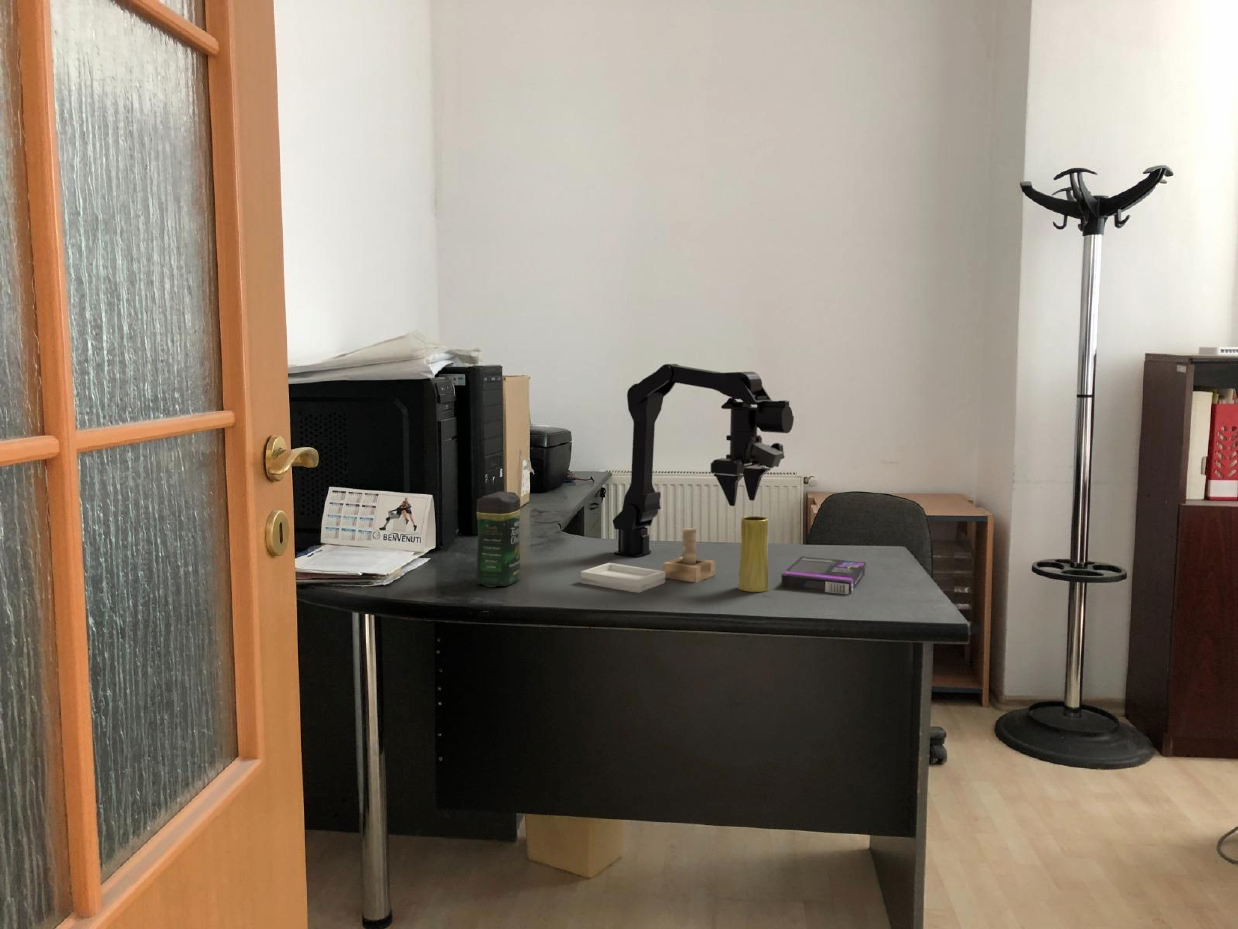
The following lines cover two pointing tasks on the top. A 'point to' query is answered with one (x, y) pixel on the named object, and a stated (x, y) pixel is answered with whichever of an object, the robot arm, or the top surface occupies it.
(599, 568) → the tray
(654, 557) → the top surface
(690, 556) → the dowel
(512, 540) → the coffee jar
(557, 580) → the top surface
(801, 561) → the box
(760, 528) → the vase
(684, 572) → the holder
